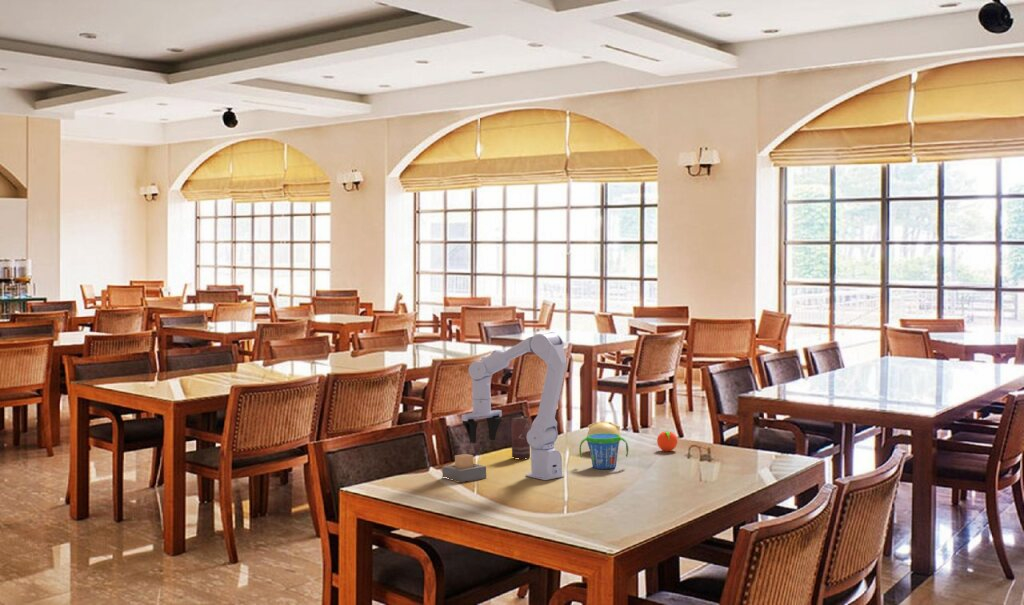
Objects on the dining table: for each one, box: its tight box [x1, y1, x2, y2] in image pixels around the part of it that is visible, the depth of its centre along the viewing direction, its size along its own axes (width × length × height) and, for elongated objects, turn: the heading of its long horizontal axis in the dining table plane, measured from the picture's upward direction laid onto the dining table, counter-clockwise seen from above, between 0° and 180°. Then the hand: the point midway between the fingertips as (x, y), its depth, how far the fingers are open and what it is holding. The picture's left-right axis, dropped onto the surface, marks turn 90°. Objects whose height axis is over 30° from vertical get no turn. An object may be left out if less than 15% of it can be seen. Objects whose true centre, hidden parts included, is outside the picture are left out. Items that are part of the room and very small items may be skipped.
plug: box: [454, 453, 474, 469], centre depth 303 cm, size 4×4×6 cm
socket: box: [441, 463, 487, 483], centre depth 304 cm, size 10×10×4 cm
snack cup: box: [579, 433, 629, 470], centre depth 315 cm, size 16×10×10 cm
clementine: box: [656, 430, 678, 452], centre depth 341 cm, size 8×7×7 cm
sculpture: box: [586, 420, 621, 448], centre depth 343 cm, size 11×12×11 cm
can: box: [510, 415, 531, 459], centre depth 334 cm, size 6×6×14 cm
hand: (482, 441), depth 314 cm, fingers open, 7 cm apart
